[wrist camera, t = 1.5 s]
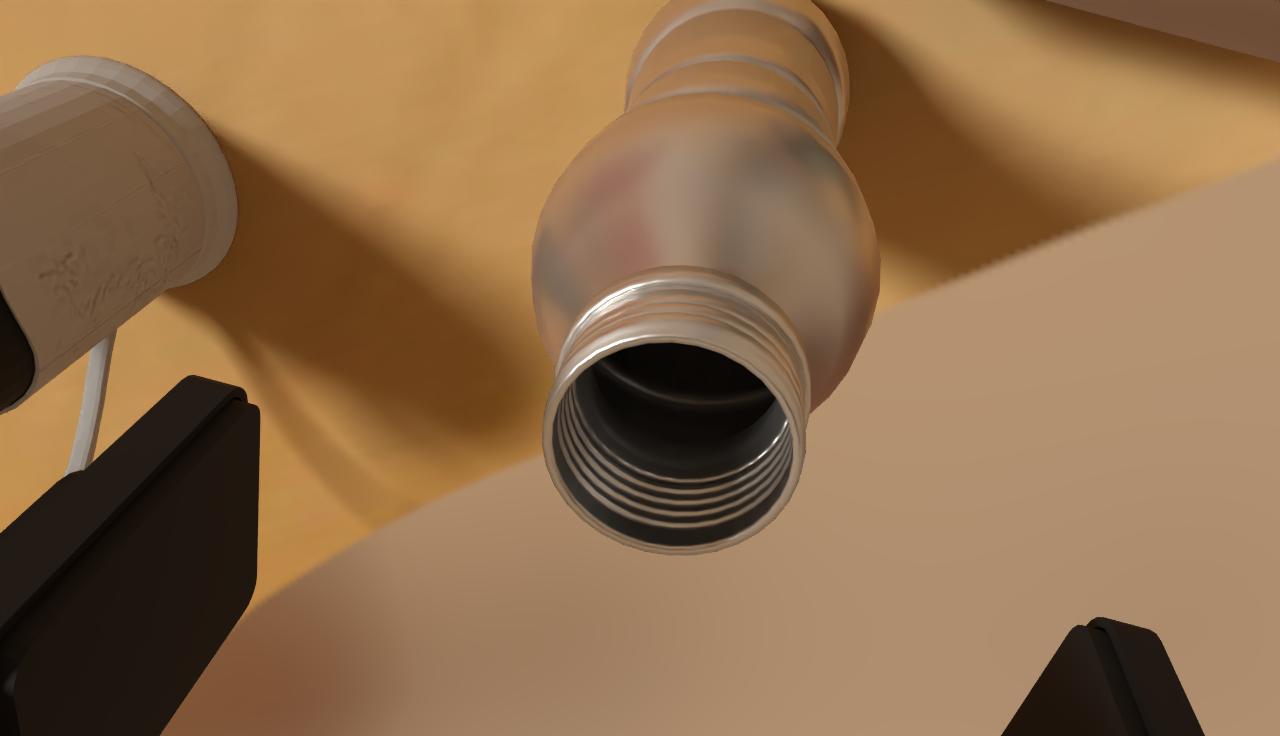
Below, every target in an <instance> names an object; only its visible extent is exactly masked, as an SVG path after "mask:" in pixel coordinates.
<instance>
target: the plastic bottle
mask: <svg viewBox="0 0 1280 736" xmlns="http://www.w3.org/2000/svg"><path fill="white" fill-rule="evenodd" d="M849 101H850V75H849V70H848V65H847V59H846V54H845V52H844V49H843V47H842V44H841V42H840V39H839V37H838V34H837V32H836V31H835V29H834V28H833V26H832V25H831V23H830V22H829V20H828V19H827V17H826V16H825V14H824V13H823V12H822V11H821V10H820V9H819V8H818V7H817V6H816V5H815V4H814V3H813V2H812V1H811V0H671V1H670V2H669V3H668V4H667V5H666V6H665V7H663V8H662V9H661V10H660V11H659V12H658V13H657V14H656V16H655V17H654V18H653V20H652V21H651V22H650V24H649V25H648V26H647V28H646V29H645V30H644V32H643V34H642V36H641V38H640V40H639V42H638V44H637V46H636V48H635V50H634V52H633V55H632V59H631V63H630V66H629V70H628V74H627V82H626V92H625V104H624V114H623V115H621V116H620V117H619V118H617V119H616V120H615V121H613V122H611V123H610V124H609V125H608V126H607V127H606V128H604V129H603V130H602V131H601V132H600V133H599V134H597V135H596V136H595V137H594V138H593V139H592V140H590V141H589V142H588V143H587V144H586V145H585V146H584V148H583V149H582V150H581V151H580V152H579V154H578V155H577V156H576V157H575V158H574V159H573V161H572V162H571V163H570V165H569V166H568V167H567V168H566V170H565V171H564V172H563V174H562V175H561V176H560V177H559V179H558V180H557V181H556V183H555V184H554V186H553V188H552V190H551V192H550V194H549V196H548V198H547V200H546V202H545V205H544V207H543V209H542V211H541V213H540V216H539V220H538V224H537V228H536V232H535V236H534V240H533V244H532V267H531V282H532V295H533V303H534V309H535V315H536V321H537V326H538V331H539V333H540V336H541V338H542V341H543V344H544V346H545V349H546V351H547V354H548V357H549V358H550V360H551V362H552V363H553V365H554V366H555V375H554V384H553V386H552V388H551V391H550V393H549V397H548V400H547V404H546V408H545V411H544V420H543V436H542V446H543V451H544V457H545V462H546V466H547V469H548V471H549V474H550V476H551V478H552V481H553V483H554V485H555V487H556V488H557V490H558V491H559V493H560V494H561V496H562V497H563V499H564V500H565V502H566V503H567V505H568V506H569V507H570V508H571V509H572V510H573V511H574V512H575V513H576V514H577V515H578V516H579V517H580V518H581V519H582V520H583V521H585V522H586V523H587V524H589V525H590V526H591V527H593V528H595V529H596V530H597V531H598V532H600V533H601V534H603V535H605V536H607V537H609V538H611V539H613V540H615V541H617V542H619V543H621V544H623V545H626V546H629V547H632V548H636V549H639V550H642V551H645V552H651V553H658V554H665V555H698V554H704V553H710V552H716V551H719V550H722V549H725V548H728V547H731V546H734V545H737V544H739V543H741V542H743V541H745V540H747V539H748V538H750V537H752V536H754V535H756V534H757V533H759V532H760V531H761V530H762V529H764V528H765V527H766V526H767V525H768V524H770V523H771V522H772V521H773V520H774V519H776V517H777V516H778V515H779V514H780V512H781V511H782V510H783V509H784V507H785V506H786V505H787V503H788V502H789V501H790V498H791V496H792V494H793V492H794V490H795V488H796V486H797V484H798V482H799V477H800V475H801V471H802V467H803V462H804V457H805V453H806V432H805V431H806V427H807V422H808V418H809V415H810V414H811V413H812V412H813V411H814V410H815V409H816V408H817V407H819V406H820V405H821V404H822V403H823V402H824V401H825V400H826V399H827V398H829V397H830V395H831V394H832V393H833V391H834V390H835V389H836V388H837V386H838V385H839V384H840V382H841V381H842V380H843V378H844V377H845V376H846V374H847V373H848V371H849V369H850V367H851V365H852V363H853V361H854V359H855V357H856V355H857V353H858V351H859V349H860V347H861V344H862V342H863V340H864V338H865V336H866V334H867V332H868V330H869V328H870V326H871V324H872V320H873V316H874V312H875V308H876V304H877V300H878V296H879V290H880V253H879V248H878V243H877V237H876V232H875V227H874V223H873V221H872V218H871V216H870V213H869V210H868V207H867V204H866V202H865V200H864V197H863V195H862V193H861V190H860V188H859V185H858V183H857V181H856V178H855V176H854V175H853V173H852V172H851V171H850V169H849V168H848V166H847V165H846V163H845V162H844V160H843V158H842V157H841V155H840V154H839V152H838V151H837V146H838V144H839V141H840V139H841V136H842V133H843V129H844V125H845V121H846V116H847V111H848V106H849Z"/></svg>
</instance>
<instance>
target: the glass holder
mask: <svg viewBox="0 0 1280 736" xmlns="http://www.w3.org/2000/svg"><path fill="white" fill-rule="evenodd" d="M237 221H238V201H237V195H236V189H235V183H234V180H233V177H232V174H231V171H230V168H229V165H228V162H227V160H226V158H225V156H224V154H223V152H222V150H221V148H220V146H219V144H218V142H217V140H216V139H215V137H214V136H213V135H212V133H211V132H210V130H209V129H208V127H207V126H206V124H205V123H204V122H203V120H202V119H201V118H200V117H199V116H198V115H197V114H196V113H195V112H194V110H193V109H192V108H191V107H190V106H189V105H188V104H187V103H186V102H185V101H184V100H183V99H181V98H180V97H179V96H178V95H177V94H176V93H174V92H173V91H172V90H171V89H170V88H169V87H167V86H165V85H164V84H162V83H161V82H159V81H158V80H156V79H155V78H153V77H152V76H150V75H148V74H146V73H144V72H142V71H140V70H138V69H136V68H134V67H131V66H129V65H127V64H124V63H120V62H117V61H113V60H110V59H107V58H100V57H91V56H74V57H63V58H60V59H57V60H54V61H51V62H48V63H45V64H44V65H42V66H40V67H39V68H37V69H35V70H34V71H32V72H31V73H29V74H28V75H27V76H26V77H25V78H24V79H23V80H22V81H21V82H20V83H19V84H18V85H17V87H16V88H15V90H14V91H13V92H10V93H7V94H5V95H2V96H0V415H2V414H4V413H6V412H8V411H11V410H13V409H15V408H17V407H18V406H19V405H20V404H22V403H23V402H24V401H25V400H27V399H28V398H29V397H31V396H32V395H33V394H34V393H36V392H37V391H38V390H39V389H41V388H42V387H43V386H45V385H46V384H47V383H48V382H50V381H51V380H52V379H53V378H55V377H56V376H57V375H59V374H60V373H61V372H62V371H64V370H65V369H66V368H68V367H69V366H70V365H71V364H73V363H74V362H75V361H76V360H78V359H79V358H80V357H82V356H83V355H84V354H85V353H87V352H88V351H89V350H90V349H91V350H90V356H89V362H88V368H87V374H86V380H85V387H84V394H83V402H82V407H81V412H80V417H79V422H78V427H77V431H76V436H75V440H74V444H73V448H72V452H71V456H70V459H69V463H68V467H67V469H66V472H65V474H64V476H63V477H65V476H66V475H68V474H69V473H72V472H75V471H79V470H85V469H86V468H87V467H88V466H89V465H90V464H91V463H92V461H93V457H94V452H95V448H96V443H97V438H98V433H99V427H100V422H101V417H102V412H103V407H104V402H105V395H106V388H107V382H108V376H109V369H110V363H111V357H112V351H113V346H114V341H115V336H116V332H117V328H118V327H120V326H121V325H122V324H124V323H125V322H126V321H127V320H129V319H130V318H131V317H132V316H134V315H135V314H136V313H138V312H139V311H140V310H141V309H143V308H144V307H145V306H146V305H148V304H149V303H150V302H152V301H153V300H154V299H155V298H157V297H158V296H159V295H161V294H162V293H163V292H164V291H166V290H167V289H169V288H174V287H179V286H183V285H187V284H189V283H192V282H194V281H196V280H198V279H200V278H202V277H204V276H206V275H207V274H208V273H209V272H211V271H212V270H213V269H214V268H216V267H217V266H218V264H219V263H220V262H221V261H222V259H223V258H224V257H225V256H226V254H227V252H228V250H229V248H230V246H231V244H232V242H233V239H234V235H235V231H236V226H237Z"/></svg>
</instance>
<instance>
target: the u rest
mask: <svg viewBox="0 0 1280 736" xmlns="http://www.w3.org/2000/svg"><path fill="white" fill-rule="evenodd" d="M1045 1H1049V2H1053V3H1057V4H1060V5H1064V6H1068V7H1072V8H1075V9H1079V10H1083V11H1087V12H1090V13H1094V14H1098V15H1102V16H1105V17H1109V18H1113V19H1117V20H1120V21H1124V22H1128V23H1132V24H1135V25H1139V26H1143V27H1146V28H1150V29H1154V30H1158V31H1161V32H1165V33H1169V34H1173V35H1176V36H1180V37H1184V38H1188V39H1191V40H1195V41H1199V42H1203V43H1206V44H1210V45H1214V46H1218V47H1221V48H1225V49H1229V50H1233V51H1236V52H1240V53H1244V54H1248V55H1251V56H1255V57H1259V58H1263V59H1266V60H1270V61H1274V62H1278V63H1280V0H1045Z"/></svg>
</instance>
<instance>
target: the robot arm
mask: <svg viewBox="0 0 1280 736" xmlns="http://www.w3.org/2000/svg"><path fill="white" fill-rule="evenodd" d="M259 455H260V410H259V408H258V406H256V405H254V404H250V403H248V400H247V394H246V392H245V390H244V389H242V388H241V387H237V386H234V385H230V384H226V383H222V382H219V381H215V380H211V379H207V378H204V377H200V376H196V375H190V376H187V377H186V378H184V379H183V380H181V381H180V382H179V383H178V384H177V385H176V386H175V387H174V388H173V389H172V390H170V391H169V392H168V393H167V394H166V395H165V396H164V397H163V398H162V399H161V400H160V401H159V402H157V403H156V404H155V405H154V406H153V407H152V408H151V409H150V410H149V411H148V412H147V413H146V414H144V415H143V416H142V417H141V418H140V419H139V420H138V421H137V422H136V423H135V424H134V425H133V426H131V427H130V428H129V429H128V430H127V431H126V432H125V433H124V434H123V435H122V436H121V437H120V438H118V439H117V440H116V441H115V442H114V443H113V444H112V445H111V446H110V447H109V448H108V449H107V450H105V451H104V452H103V453H102V454H101V455H100V456H99V457H98V458H97V459H96V460H95V461H94V462H92V463H91V464H90V465H89V466H88V467H87V468H86V469H85V470H79V471H75V472H72V473H69V474H68V475H66V476H65V477H63V478H62V479H61V480H59V481H58V482H57V483H55V484H54V485H53V486H52V487H51V488H50V489H49V490H48V491H47V492H45V493H44V494H43V495H42V496H41V497H40V498H39V499H38V500H37V501H36V502H34V503H33V504H32V505H31V506H30V507H29V508H28V509H27V510H26V511H24V512H23V513H22V514H21V515H20V516H19V517H18V518H17V519H16V520H15V521H13V522H12V523H11V524H10V525H9V526H8V527H7V528H6V529H5V530H3V531H2V532H1V533H0V736H160V734H161V733H162V731H163V730H164V728H165V727H166V725H167V724H168V722H169V721H170V719H171V718H172V717H173V715H174V714H175V712H176V710H177V709H178V708H179V706H180V705H181V703H182V702H183V701H184V699H185V698H186V696H187V695H188V693H189V692H190V690H191V689H192V687H193V686H194V684H195V683H196V682H197V680H198V679H199V677H200V676H201V674H202V673H203V671H204V670H205V668H206V667H207V666H208V664H209V663H210V661H211V659H212V658H213V657H214V655H215V654H216V652H217V651H218V649H219V648H220V647H221V645H222V644H223V642H224V641H225V639H226V638H227V636H228V635H229V633H230V632H231V630H232V629H233V628H234V626H235V625H236V623H237V622H238V620H239V619H240V617H241V616H242V614H243V613H244V611H245V610H246V608H247V606H248V605H249V602H250V600H251V598H252V595H253V592H254V589H255V585H256V580H257V548H258V501H259ZM1001 736H1205V735H1204V733H1203V731H1202V729H1201V726H1200V724H1199V722H1198V720H1197V718H1196V716H1195V713H1194V711H1193V709H1192V707H1191V705H1190V702H1189V700H1188V698H1187V696H1186V694H1185V692H1184V689H1183V688H1182V685H1181V683H1180V681H1179V679H1178V676H1177V675H1176V673H1175V670H1174V668H1173V666H1172V663H1171V661H1170V659H1169V657H1168V655H1167V653H1166V650H1165V648H1164V646H1163V644H1162V642H1161V640H1160V639H1159V637H1158V636H1157V634H1156V633H1154V632H1153V631H1151V630H1149V629H1146V628H1141V627H1138V626H1134V625H1131V624H1127V623H1123V622H1119V621H1116V620H1112V619H1108V618H1104V617H1097V618H1095V619H1093V620H1091V621H1090V622H1089V623H1088V624H1087V626H1083V625H1077V626H1075V627H1074V628H1072V630H1071V631H1070V632H1069V633H1068V635H1067V636H1066V638H1065V640H1064V641H1063V642H1062V644H1061V645H1060V647H1059V648H1058V650H1057V651H1056V653H1055V654H1054V656H1053V658H1052V659H1051V661H1050V662H1049V664H1048V665H1047V667H1046V668H1045V670H1044V671H1043V673H1042V674H1041V676H1040V677H1039V679H1038V680H1037V682H1036V683H1035V685H1034V686H1033V688H1032V689H1031V691H1030V693H1029V694H1028V696H1027V697H1026V699H1025V700H1024V702H1023V703H1022V705H1021V706H1020V708H1019V709H1018V711H1017V712H1016V714H1015V715H1014V717H1013V719H1012V720H1011V722H1010V723H1009V724H1008V726H1007V727H1006V729H1005V730H1004V732H1003V734H1002V735H1001Z"/></svg>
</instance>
